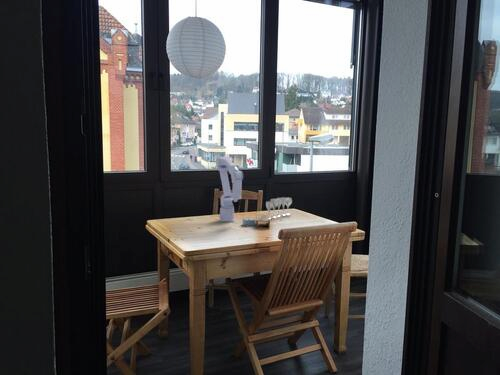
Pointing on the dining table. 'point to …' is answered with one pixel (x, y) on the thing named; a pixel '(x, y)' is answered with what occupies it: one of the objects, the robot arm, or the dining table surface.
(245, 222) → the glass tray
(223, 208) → the robot arm
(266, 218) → the walnut shelf
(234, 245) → the dining table surface
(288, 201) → the goblet set
